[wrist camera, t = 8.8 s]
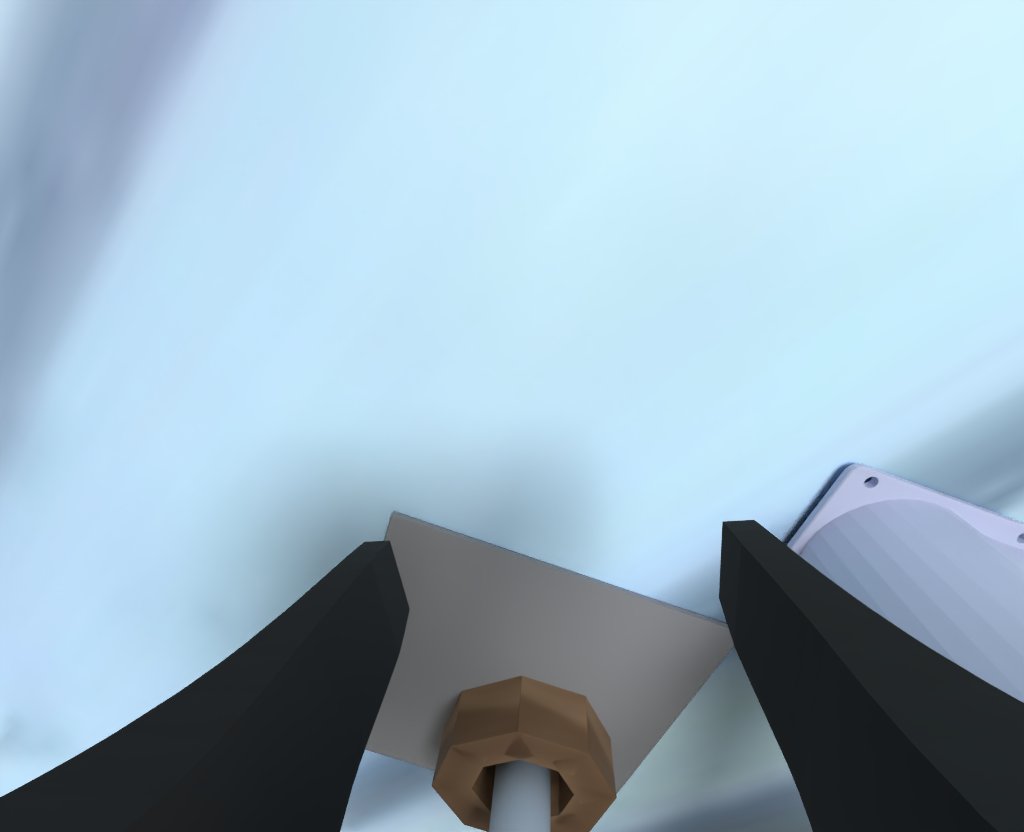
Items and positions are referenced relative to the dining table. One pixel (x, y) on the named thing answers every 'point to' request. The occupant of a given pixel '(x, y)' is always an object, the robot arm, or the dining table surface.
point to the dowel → (521, 798)
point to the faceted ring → (526, 751)
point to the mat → (534, 644)
